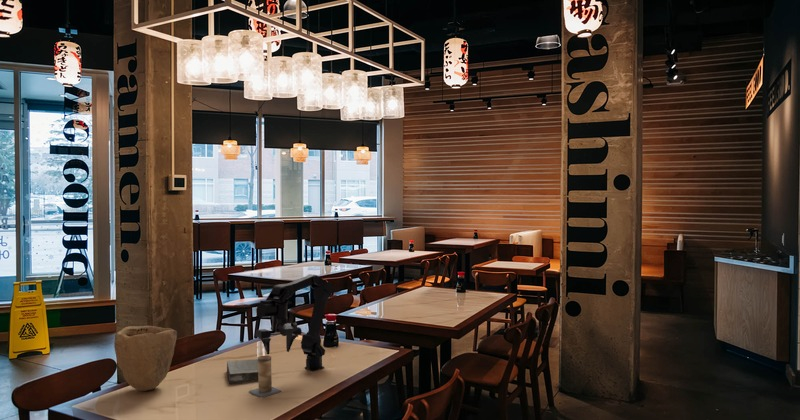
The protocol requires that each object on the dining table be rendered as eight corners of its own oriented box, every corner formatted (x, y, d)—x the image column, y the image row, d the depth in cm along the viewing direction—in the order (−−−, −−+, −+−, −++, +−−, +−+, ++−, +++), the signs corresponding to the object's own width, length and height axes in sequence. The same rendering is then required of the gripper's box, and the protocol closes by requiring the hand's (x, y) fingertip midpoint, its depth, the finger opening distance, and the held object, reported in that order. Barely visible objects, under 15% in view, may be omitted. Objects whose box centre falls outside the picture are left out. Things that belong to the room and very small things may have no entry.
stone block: (229, 385, 220) (229, 373, 220) (226, 372, 239) (226, 360, 239) (263, 381, 225) (263, 369, 225) (258, 368, 244) (257, 357, 244)
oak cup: (270, 387, 214) (269, 354, 214) (273, 391, 210) (272, 357, 210) (257, 389, 212) (256, 356, 212) (260, 393, 207) (259, 359, 207)
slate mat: (268, 386, 217) (268, 385, 217) (281, 391, 211) (281, 390, 211) (248, 392, 210) (248, 391, 210) (261, 397, 204) (261, 396, 204)
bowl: (189, 386, 218) (188, 325, 218) (137, 404, 199) (136, 337, 199) (156, 378, 230) (155, 320, 230) (104, 393, 212) (103, 330, 211)
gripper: (268, 319, 213) (266, 359, 212) (309, 316, 225) (307, 354, 224) (255, 316, 221) (254, 354, 220) (295, 313, 233) (293, 349, 232)
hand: (278, 353), depth 224 cm, fingers open, 9 cm apart
